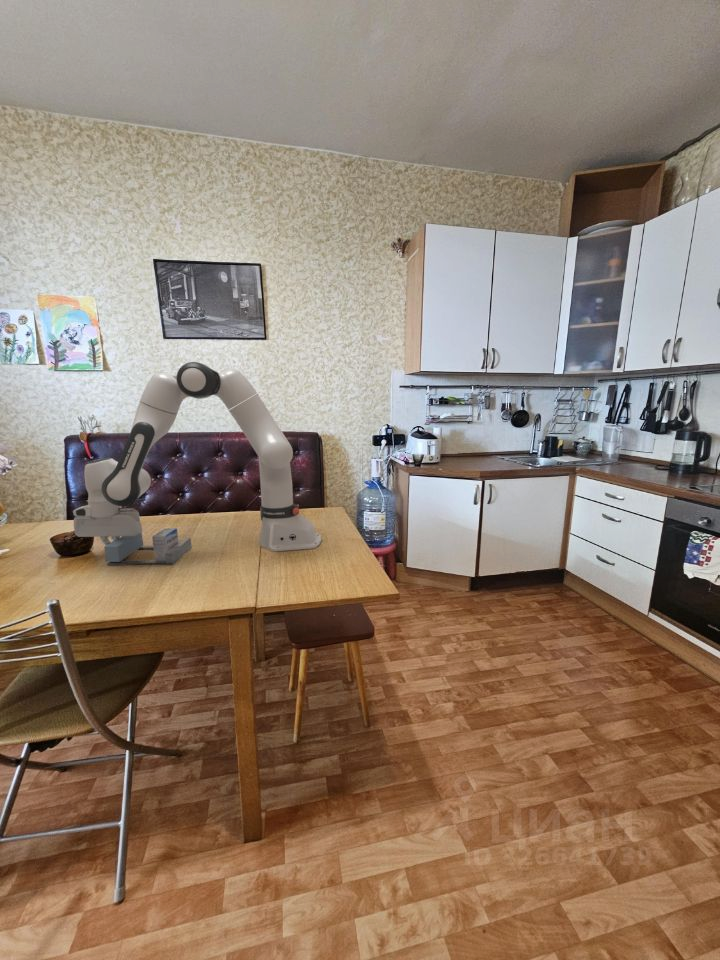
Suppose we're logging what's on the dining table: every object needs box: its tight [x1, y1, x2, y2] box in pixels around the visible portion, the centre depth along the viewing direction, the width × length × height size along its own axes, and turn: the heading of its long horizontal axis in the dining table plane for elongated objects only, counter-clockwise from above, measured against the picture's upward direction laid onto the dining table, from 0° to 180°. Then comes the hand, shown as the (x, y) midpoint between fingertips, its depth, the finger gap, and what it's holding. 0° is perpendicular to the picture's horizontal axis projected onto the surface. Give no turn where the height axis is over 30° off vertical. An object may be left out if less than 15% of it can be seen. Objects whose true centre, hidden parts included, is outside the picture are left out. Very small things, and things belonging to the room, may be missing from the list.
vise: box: [107, 537, 192, 566], centre depth 128 cm, size 20×14×4 cm
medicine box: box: [151, 527, 180, 561], centre depth 128 cm, size 8×4×9 cm, turn 179°
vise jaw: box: [104, 531, 144, 563], centre depth 128 cm, size 4×14×5 cm, turn 0°
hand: (111, 548), depth 128 cm, fingers closed
